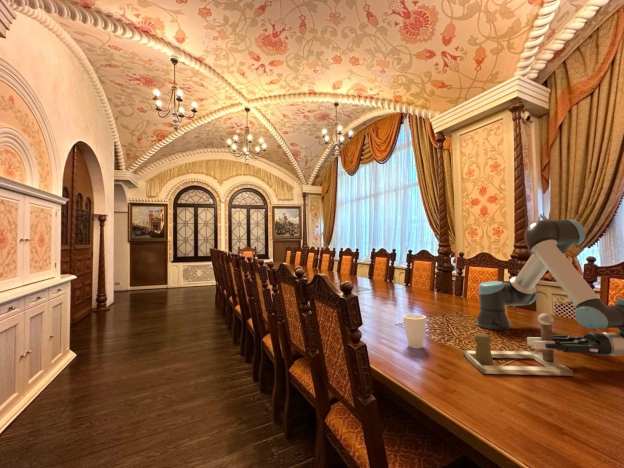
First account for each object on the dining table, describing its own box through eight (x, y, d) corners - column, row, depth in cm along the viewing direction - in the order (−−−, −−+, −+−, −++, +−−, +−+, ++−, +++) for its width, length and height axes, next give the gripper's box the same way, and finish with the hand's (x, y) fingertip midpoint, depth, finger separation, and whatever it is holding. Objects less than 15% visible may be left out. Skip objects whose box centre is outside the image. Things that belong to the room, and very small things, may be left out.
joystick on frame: (539, 355, 110) (536, 308, 111) (574, 375, 93) (570, 319, 94) (462, 354, 114) (460, 308, 114) (482, 373, 97) (479, 319, 97)
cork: (471, 361, 107) (469, 332, 108) (486, 360, 108) (484, 331, 108) (481, 368, 101) (479, 337, 102) (497, 367, 102) (495, 336, 102)
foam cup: (427, 343, 128) (426, 314, 128) (426, 350, 119) (425, 319, 120) (405, 341, 132) (404, 313, 132) (403, 348, 123) (402, 318, 124)
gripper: (626, 364, 91) (546, 362, 95) (585, 346, 107) (518, 345, 111) (624, 341, 92) (545, 340, 95) (584, 326, 108) (517, 326, 111)
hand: (531, 343), depth 103 cm, fingers closed on joystick on frame, 3 cm apart
